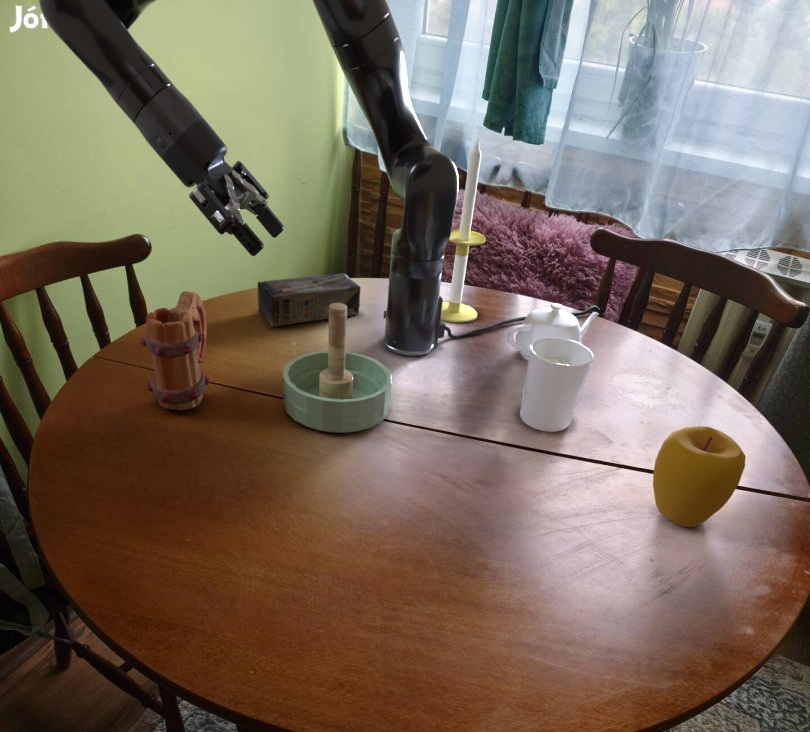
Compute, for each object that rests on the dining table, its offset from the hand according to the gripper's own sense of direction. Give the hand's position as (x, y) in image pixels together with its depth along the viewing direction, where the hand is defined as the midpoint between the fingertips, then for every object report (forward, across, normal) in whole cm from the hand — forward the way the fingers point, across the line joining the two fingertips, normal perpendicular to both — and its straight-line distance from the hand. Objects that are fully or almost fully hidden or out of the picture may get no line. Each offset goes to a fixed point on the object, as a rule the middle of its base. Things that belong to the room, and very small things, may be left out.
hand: (270, 242), depth 96 cm
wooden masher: (+24, 0, +9) cm, 25 cm away
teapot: (+48, +32, -13) cm, 59 cm away
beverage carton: (+14, +34, +20) cm, 42 cm away
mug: (+8, -4, +26) cm, 28 cm away
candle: (+34, +46, +1) cm, 57 cm away
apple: (+62, -12, -27) cm, 68 cm away
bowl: (+24, 0, +10) cm, 26 cm away
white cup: (+48, +8, -14) cm, 50 cm away
